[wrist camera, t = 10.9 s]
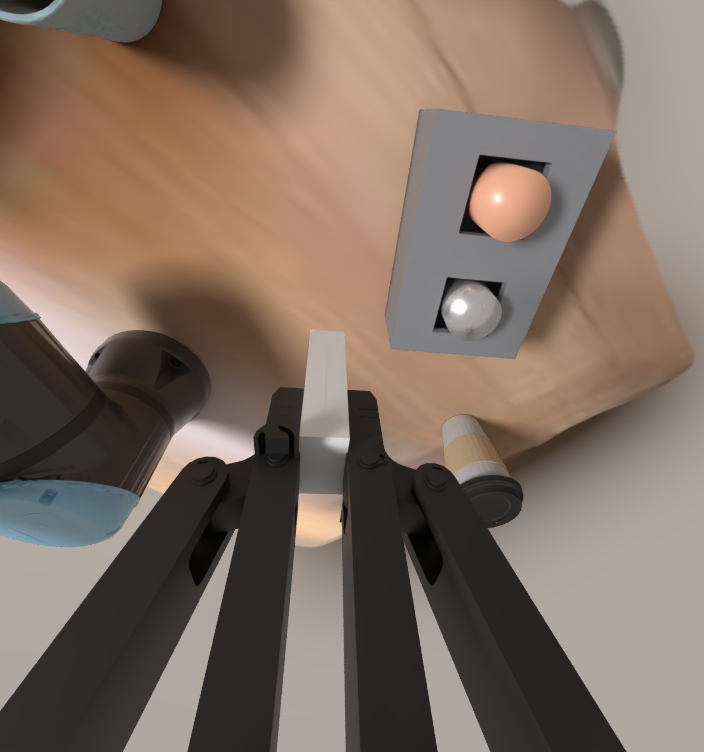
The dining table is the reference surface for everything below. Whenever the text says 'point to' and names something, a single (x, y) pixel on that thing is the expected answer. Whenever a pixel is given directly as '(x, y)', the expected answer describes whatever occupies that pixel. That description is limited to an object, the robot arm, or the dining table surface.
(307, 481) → the robot arm
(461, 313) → the silver rounded piece
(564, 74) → the dining table surface
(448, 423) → the coffee cup
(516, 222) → the brown egg
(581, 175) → the block with square holes
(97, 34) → the drinking glass
